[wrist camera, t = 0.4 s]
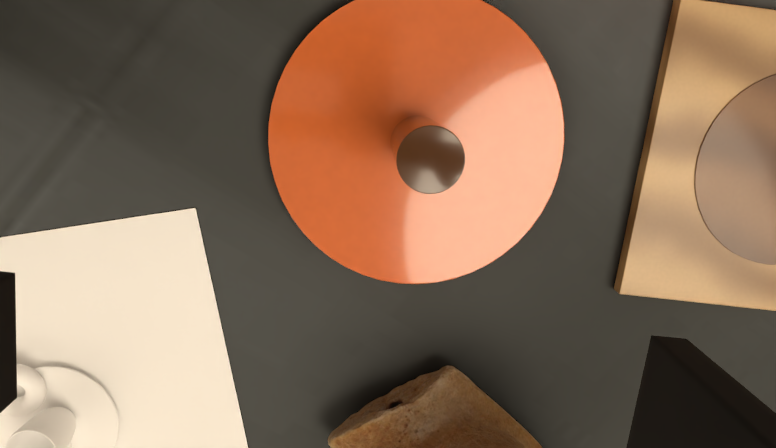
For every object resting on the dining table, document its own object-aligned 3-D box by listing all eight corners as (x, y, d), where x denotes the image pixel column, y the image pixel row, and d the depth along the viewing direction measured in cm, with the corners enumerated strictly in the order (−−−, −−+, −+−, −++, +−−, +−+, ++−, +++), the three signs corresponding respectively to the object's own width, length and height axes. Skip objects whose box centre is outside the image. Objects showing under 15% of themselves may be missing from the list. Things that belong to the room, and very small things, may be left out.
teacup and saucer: (-20, 361, 41) (-61, 391, 37) (102, 343, 41) (74, 370, 37) (17, 480, 43) (-18, 520, 39) (134, 462, 43) (110, 501, 39)
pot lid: (283, -31, 37) (254, -69, 27) (583, 9, 38) (655, -15, 28) (259, 262, 41) (226, 318, 31) (532, 292, 42) (581, 355, 32)
